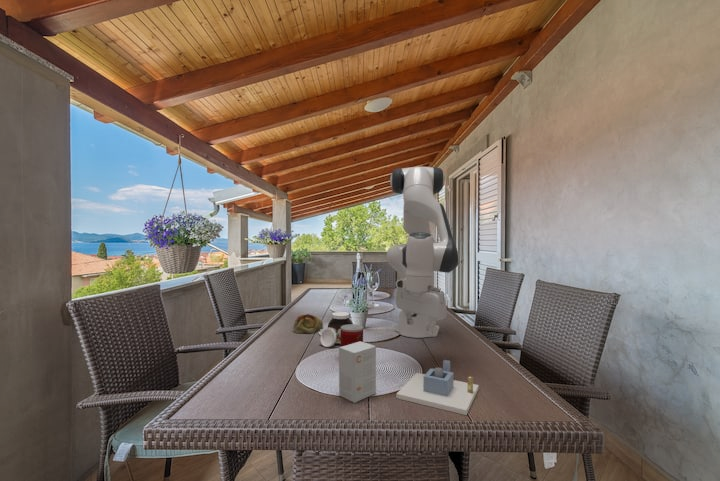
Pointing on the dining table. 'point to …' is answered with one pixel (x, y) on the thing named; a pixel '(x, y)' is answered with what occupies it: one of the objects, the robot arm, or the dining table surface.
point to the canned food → (351, 334)
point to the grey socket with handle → (439, 381)
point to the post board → (453, 402)
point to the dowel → (470, 384)
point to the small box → (357, 371)
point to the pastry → (307, 324)
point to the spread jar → (334, 329)
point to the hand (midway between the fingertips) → (419, 327)
